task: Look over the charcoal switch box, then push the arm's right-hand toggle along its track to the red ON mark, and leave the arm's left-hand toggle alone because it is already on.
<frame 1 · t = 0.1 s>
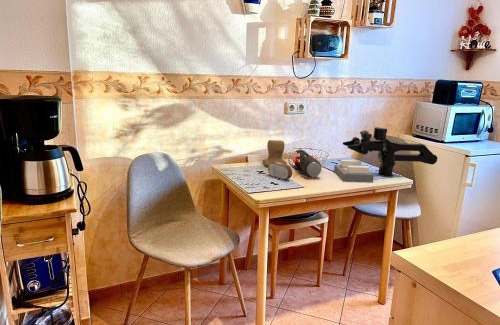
hand: (345, 145, 210), 17 cm above the table, tool horizontal, fingers open, 9 cm apart
brown grey oval slab: (278, 178, 200), on the table
dark grey cylinder: (305, 172, 214), on the table
toggle 2: (357, 169, 200), point 6 cm above the table, slide at 5.0 cm
toggle 1: (350, 163, 212), point 6 cm above the table, slide at 0.0 cm
brown flared block: (273, 164, 227), on the table
switch box: (352, 176, 209), on the table
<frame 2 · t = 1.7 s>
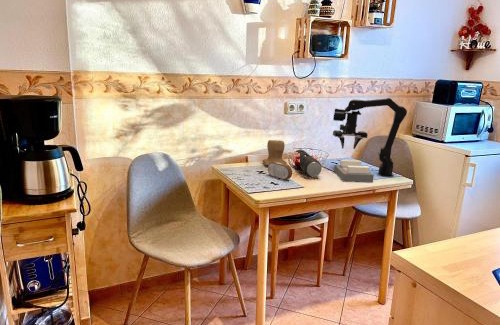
hand: (348, 148, 217), 13 cm above the table, tool pointing down, fingers open, 6 cm apart
nothing on the table moved.
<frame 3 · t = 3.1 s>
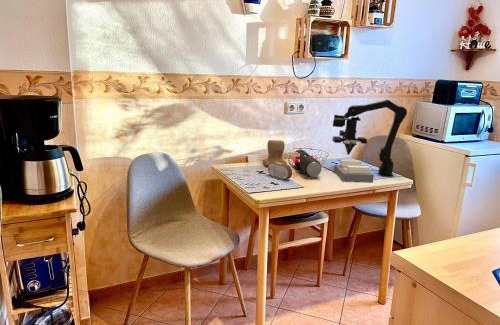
hand: (348, 154, 218), 10 cm above the table, tool pointing down, fingers closed
nothing on the table moved.
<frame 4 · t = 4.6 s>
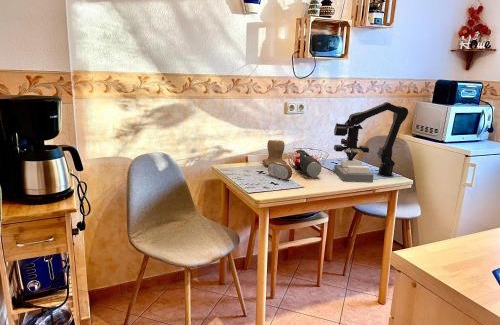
hand: (349, 163, 214), 6 cm above the table, tool pointing down, fingers closed
toggle 1: (351, 163, 212), point 6 cm above the table, slide at 0.9 cm, touching gripper
everything else where it was.
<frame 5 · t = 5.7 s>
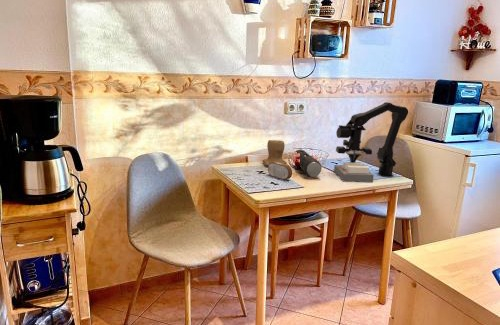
hand: (351, 165, 210), 6 cm above the table, tool pointing down, fingers closed, pressing on toggle 1
toggle 1: (353, 165, 207), point 6 cm above the table, slide at 5.2 cm, touching gripper
everything else where it was.
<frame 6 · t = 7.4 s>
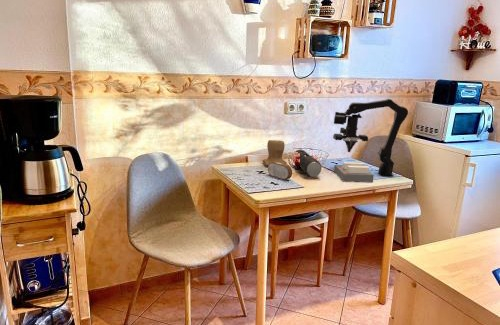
hand: (348, 152, 216), 11 cm above the table, tool pointing down, fingers closed
toggle 1: (353, 165, 208), point 6 cm above the table, slide at 5.1 cm
everything else where it was.
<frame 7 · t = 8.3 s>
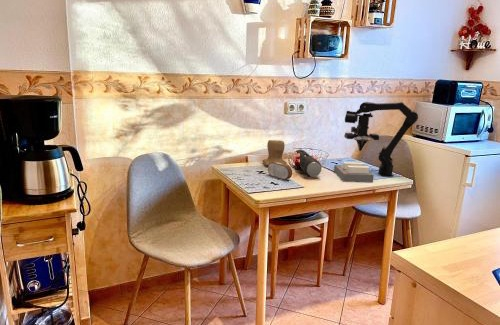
hand: (359, 150, 218), 12 cm above the table, tool pointing down, fingers closed
nothing on the table moved.
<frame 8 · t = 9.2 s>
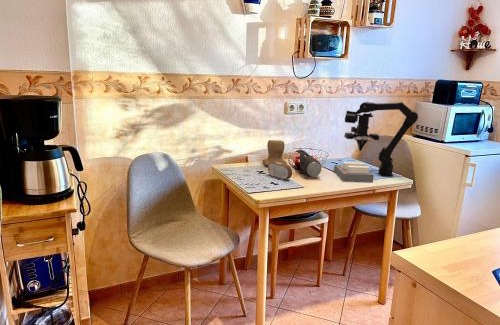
hand: (359, 150, 218), 12 cm above the table, tool pointing down, fingers closed
nothing on the table moved.
at the end: toggle 1 slide at 5.1 cm; toggle 2 slide at 5.0 cm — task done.
